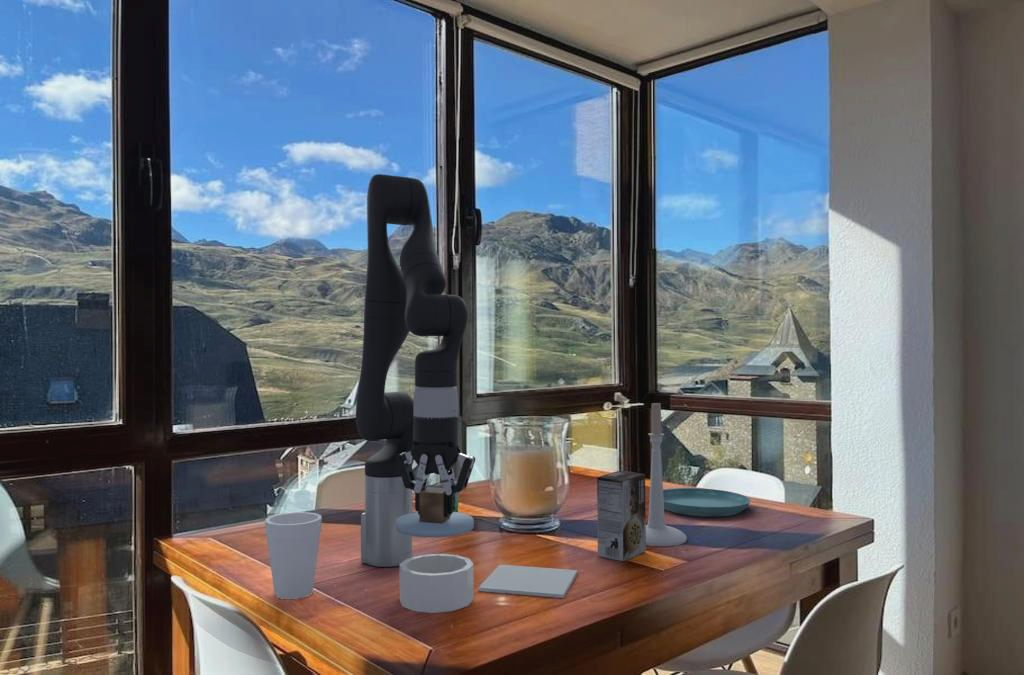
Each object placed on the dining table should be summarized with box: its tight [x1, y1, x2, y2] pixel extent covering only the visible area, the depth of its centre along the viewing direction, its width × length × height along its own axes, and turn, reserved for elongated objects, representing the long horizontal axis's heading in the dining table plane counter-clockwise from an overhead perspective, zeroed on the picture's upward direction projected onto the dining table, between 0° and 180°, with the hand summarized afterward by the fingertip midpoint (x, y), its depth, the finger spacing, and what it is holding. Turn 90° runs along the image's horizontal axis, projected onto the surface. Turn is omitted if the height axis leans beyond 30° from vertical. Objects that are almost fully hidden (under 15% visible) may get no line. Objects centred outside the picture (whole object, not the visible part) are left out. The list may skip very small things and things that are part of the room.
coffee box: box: [596, 470, 647, 562], centre depth 157 cm, size 9×6×16 cm
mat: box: [478, 564, 578, 599], centre depth 139 cm, size 15×14×1 cm
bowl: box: [399, 553, 475, 614], centre depth 130 cm, size 12×12×6 cm
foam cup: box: [264, 511, 323, 600], centre depth 133 cm, size 10×9×13 cm
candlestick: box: [646, 402, 688, 547], centre depth 169 cm, size 13×13×30 cm
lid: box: [396, 487, 475, 538], centre depth 130 cm, size 13×13×6 cm
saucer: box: [663, 487, 751, 518], centre depth 199 cm, size 24×24×3 cm
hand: (435, 514), depth 130 cm, fingers closed on lid, 4 cm apart
